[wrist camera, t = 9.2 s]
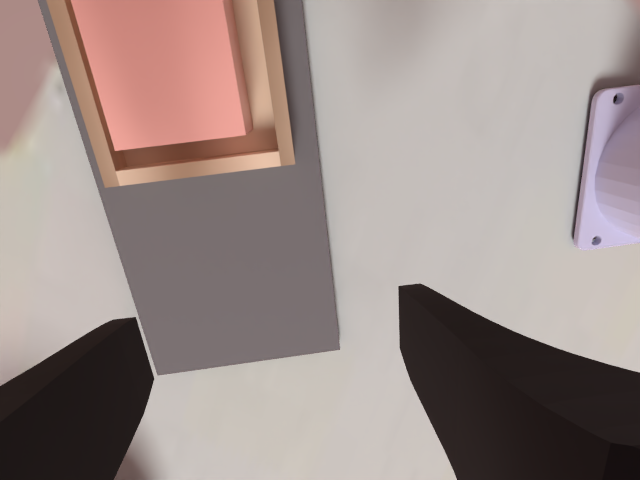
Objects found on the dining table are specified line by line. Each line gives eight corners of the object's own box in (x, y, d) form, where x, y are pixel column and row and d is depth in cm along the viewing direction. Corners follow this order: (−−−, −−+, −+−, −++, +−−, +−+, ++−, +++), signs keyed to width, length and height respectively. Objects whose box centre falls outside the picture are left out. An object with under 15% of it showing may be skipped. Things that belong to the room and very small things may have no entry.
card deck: (253, 129, 16) (245, 135, 14) (145, 142, 16) (115, 150, 13) (217, -90, 14) (198, -139, 11) (87, -77, 14) (34, -124, 11)
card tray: (254, -148, 14) (249, -179, 12) (294, 158, 17) (295, 164, 16) (30, -126, 13) (-3, -155, 12) (121, 180, 17) (105, 187, 15)
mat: (283, -161, 14) (282, -173, 13) (338, 343, 22) (340, 349, 21) (3, -135, 14) (-9, -146, 13) (161, 368, 21) (157, 375, 21)
